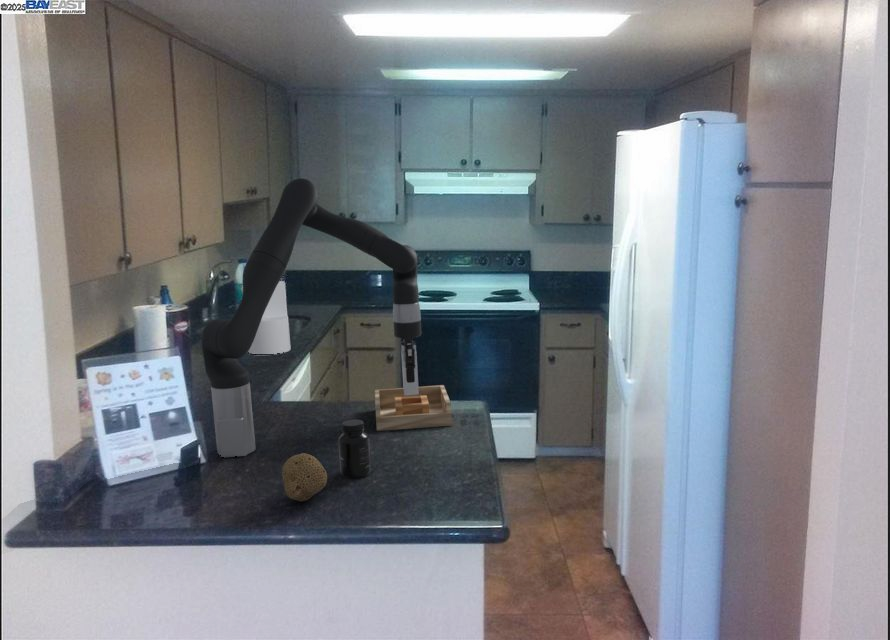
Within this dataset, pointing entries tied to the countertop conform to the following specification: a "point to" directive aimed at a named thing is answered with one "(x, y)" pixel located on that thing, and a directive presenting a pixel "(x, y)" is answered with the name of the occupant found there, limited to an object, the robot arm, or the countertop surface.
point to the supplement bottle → (354, 450)
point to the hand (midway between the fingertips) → (410, 380)
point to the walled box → (412, 408)
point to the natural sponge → (303, 477)
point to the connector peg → (407, 387)
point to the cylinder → (273, 325)
